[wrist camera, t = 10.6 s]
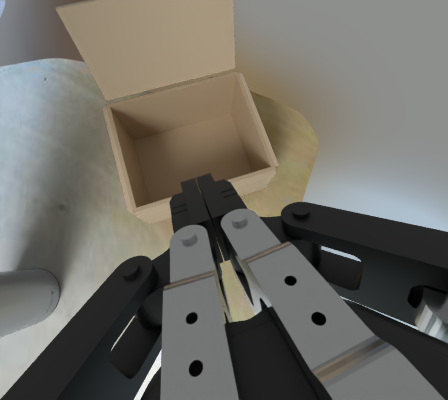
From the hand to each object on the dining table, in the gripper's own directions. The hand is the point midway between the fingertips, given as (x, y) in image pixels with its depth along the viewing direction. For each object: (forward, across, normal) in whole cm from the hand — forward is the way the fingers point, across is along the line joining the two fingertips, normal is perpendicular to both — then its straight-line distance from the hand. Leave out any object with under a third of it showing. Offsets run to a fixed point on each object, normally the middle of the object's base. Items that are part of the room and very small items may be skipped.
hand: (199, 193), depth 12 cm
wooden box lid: (+31, -2, -7) cm, 31 cm away
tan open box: (+35, -2, +14) cm, 38 cm away
